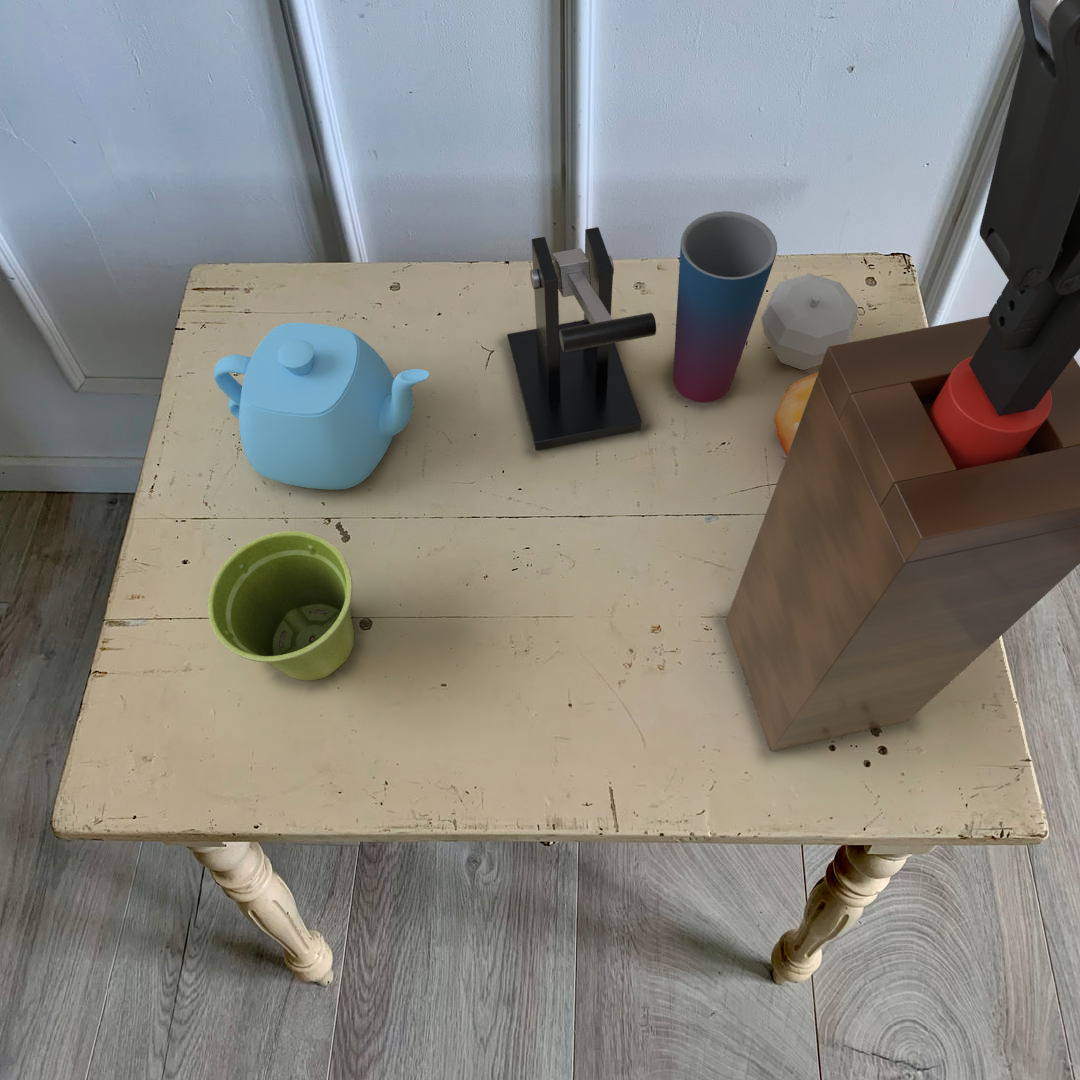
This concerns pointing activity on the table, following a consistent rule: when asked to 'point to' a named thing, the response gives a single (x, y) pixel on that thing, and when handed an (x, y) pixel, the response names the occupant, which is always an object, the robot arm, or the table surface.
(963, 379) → the button
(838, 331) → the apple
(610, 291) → the bracket
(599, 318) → the lever
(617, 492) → the table surface
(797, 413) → the fruit
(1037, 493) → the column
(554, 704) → the table surface
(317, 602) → the plant pot
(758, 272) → the cup
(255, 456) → the teapot
